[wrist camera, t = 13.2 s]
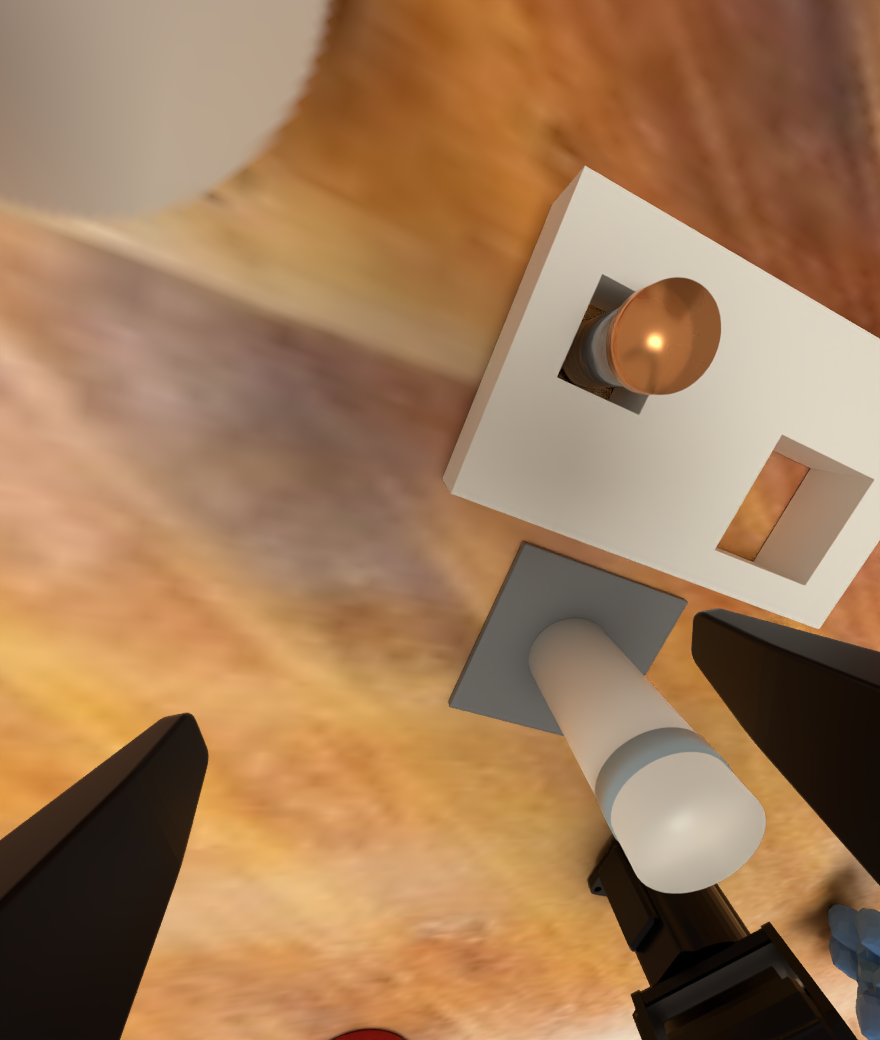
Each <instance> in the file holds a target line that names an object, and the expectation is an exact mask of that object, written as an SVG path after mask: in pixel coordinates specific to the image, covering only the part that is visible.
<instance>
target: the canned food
mask: <svg viewBox="0 0 880 1040" xmlns="http://www.w3.org/2000/svg"><path fill="white" fill-rule="evenodd" d="M335 1040H403V1039H402V1038H400V1037H399V1036H397V1035H395V1034H393V1033H390V1032H387V1031H381V1030H362V1031H356V1032H352V1033H348V1034H345V1035H343V1036H340V1037H338V1038H336V1039H335Z"/></svg>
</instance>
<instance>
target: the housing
mask: <svg viewBox="0 0 880 1040" xmlns="http://www.w3.org/2000/svg"><path fill="white" fill-rule="evenodd" d="M674 277H681V278H688V279H691V280H694V281H696V282H698V283H699V284H701V285H702V286H704V287H705V288H706V289H707V290H708V291H709V292H710V294H711V295H712V296H713V298H714V300H715V301H716V304H717V306H718V309H719V313H720V318H721V337H720V342H719V346H718V349H717V352H716V355H715V357H714V359H713V361H712V363H711V364H710V366H709V368H708V369H707V370H706V372H705V373H704V374H703V375H702V376H701V377H700V378H699V379H698V380H697V381H696V382H695V383H694V384H692V385H691V386H689V387H688V388H686V389H684V390H682V391H679V392H676V393H673V394H667V395H642V394H637V393H634V392H632V391H629V390H628V389H626V388H625V387H615V388H614V390H613V392H612V394H611V396H610V398H609V400H608V401H607V400H605V399H603V398H601V397H599V396H596V395H594V394H592V393H590V392H588V391H585V390H583V389H581V388H579V387H577V386H575V385H572V384H570V383H568V382H566V381H564V380H561V379H559V378H557V376H558V373H559V371H560V369H561V367H562V364H563V362H564V360H565V357H566V355H567V353H568V351H569V348H570V346H571V344H572V342H573V339H574V337H575V335H576V333H577V330H578V328H579V326H580V323H581V321H582V319H583V317H584V314H585V312H586V310H587V308H588V305H589V304H591V305H592V306H594V307H596V308H598V309H600V310H602V311H604V312H606V313H607V312H609V311H612V310H614V309H617V308H619V307H620V306H621V305H622V303H623V302H624V301H625V300H626V299H627V298H628V297H629V296H631V295H632V294H633V293H635V292H636V291H638V290H640V289H642V288H644V287H646V286H649V285H651V284H653V283H656V282H658V281H661V280H664V279H668V278H674ZM772 451H775V452H777V453H779V454H781V455H783V456H785V457H788V458H790V459H792V460H794V461H796V462H798V463H800V464H802V465H804V466H807V467H809V468H810V470H809V472H808V473H807V475H806V477H805V478H804V480H803V481H802V483H801V485H800V486H799V488H798V490H797V491H796V493H795V495H794V496H793V498H792V499H791V501H790V503H789V504H788V506H787V508H786V509H785V511H784V513H783V514H782V516H781V517H780V519H779V521H778V522H777V524H776V526H775V527H774V529H773V531H772V532H771V534H770V535H769V537H768V539H767V540H766V542H765V544H764V545H763V547H762V549H761V550H760V552H759V553H758V555H757V557H756V558H755V560H754V562H752V561H750V560H747V559H745V558H742V557H740V556H737V555H735V554H732V553H729V552H727V551H724V550H722V549H719V548H717V545H718V543H719V542H720V540H721V538H722V537H723V535H724V533H725V531H726V530H727V528H728V526H729V525H730V523H731V521H732V519H733V518H734V516H735V514H736V513H737V511H738V509H739V507H740V506H741V504H742V502H743V501H744V499H745V497H746V495H747V494H748V492H749V490H750V489H751V487H752V485H753V483H754V482H755V480H756V478H757V477H758V475H759V473H760V471H761V470H762V468H763V466H764V465H765V463H766V461H767V459H768V458H769V456H770V454H771V453H772ZM442 480H443V482H444V483H445V485H446V487H447V488H448V490H449V491H450V493H451V494H453V495H456V496H459V497H461V498H464V499H467V500H469V501H472V502H475V503H478V504H480V505H483V506H486V507H488V508H491V509H494V510H497V511H499V512H502V513H505V514H507V515H510V516H513V517H516V518H518V519H521V520H524V521H526V522H529V523H532V524H535V525H537V526H540V527H543V528H545V529H548V530H551V531H553V532H556V533H559V534H562V535H564V536H567V537H570V538H572V539H575V540H578V541H581V542H583V543H586V544H589V545H591V546H594V547H597V548H600V549H602V550H605V551H608V552H610V553H613V554H616V555H619V556H621V557H624V558H627V559H629V560H632V561H635V562H637V563H640V564H643V565H646V566H648V567H651V568H654V569H656V570H659V571H662V572H665V573H667V574H670V575H673V576H675V577H678V578H681V579H684V580H686V581H689V582H692V583H694V584H697V585H700V586H703V587H705V588H708V589H711V590H713V591H716V592H719V593H721V594H724V595H727V596H730V597H732V598H735V599H738V600H740V601H743V602H746V603H749V604H751V605H754V606H757V607H759V608H762V609H765V610H768V611H770V612H773V613H776V614H778V615H781V616H784V617H787V618H789V619H792V620H795V621H797V622H800V623H803V624H805V625H808V626H811V627H814V628H816V629H819V628H820V627H821V625H822V624H823V622H824V621H825V620H826V618H827V617H828V615H829V614H830V612H831V611H832V609H833V608H834V606H835V605H836V603H837V602H838V600H839V599H840V597H841V596H842V595H843V593H844V592H845V590H846V589H847V587H848V586H849V584H850V583H851V581H852V580H853V578H854V577H855V575H856V574H857V572H858V571H859V570H860V568H861V567H862V565H863V564H864V562H865V561H866V559H867V558H868V556H869V555H870V553H871V552H872V550H873V549H874V548H875V546H876V545H877V543H878V542H879V540H880V339H879V338H877V337H876V336H874V335H872V334H870V333H869V332H867V331H865V330H864V329H862V328H860V327H859V326H857V325H855V324H853V323H852V322H850V321H848V320H847V319H845V318H843V317H842V316H840V315H838V314H836V313H835V312H833V311H831V310H830V309H828V308H826V307H825V306H823V305H821V304H819V303H818V302H816V301H814V300H813V299H811V298H809V297H808V296H806V295H804V294H802V293H801V292H799V291H797V290H796V289H794V288H792V287H791V286H789V285H787V284H785V283H784V282H782V281H780V280H779V279H777V278H775V277H774V276H772V275H770V274H768V273H767V272H765V271H763V270H762V269H760V268H758V267H757V266H755V265H753V264H751V263H750V262H748V261H746V260H745V259H743V258H741V257H740V256H738V255H736V254H734V253H733V252H731V251H729V250H728V249H726V248H724V247H723V246H721V245H719V244H717V243H716V242H714V241H712V240H711V239H709V238H707V237H706V236H704V235H702V234H700V233H699V232H697V231H695V230H694V229H692V228H690V227H689V226H687V225H685V224H683V223H682V222H680V221H678V220H677V219H675V218H673V217H672V216H670V215H668V214H666V213H665V212H663V211H661V210H660V209H658V208H656V207H655V206H653V205H651V204H649V203H648V202H646V201H644V200H643V199H641V198H639V197H638V196H636V195H634V194H632V193H631V192H629V191H627V190H626V189H624V188H622V187H620V186H619V185H617V184H615V183H614V182H612V181H610V180H609V179H607V178H605V177H603V176H602V175H600V174H598V173H597V172H595V171H593V170H592V169H590V168H588V167H586V166H584V167H583V168H582V170H581V171H580V172H579V173H578V174H577V176H576V177H575V178H574V179H573V180H572V181H571V183H570V184H569V185H568V186H567V187H566V189H565V190H564V191H563V192H562V193H561V194H560V196H559V197H558V198H557V199H556V200H555V202H554V203H553V204H552V206H551V208H550V211H549V213H548V216H547V218H546V221H545V223H544V226H543V228H542V231H541V233H540V236H539V238H538V241H537V243H536V246H535V248H534V251H533V253H532V256H531V258H530V261H529V263H528V266H527V268H526V271H525V273H524V276H523V278H522V281H521V283H520V286H519V288H518V291H517V293H516V296H515V298H514V301H513V303H512V306H511V308H510V311H509V313H508V316H507V318H506V321H505V323H504V326H503V328H502V331H501V333H500V336H499V338H498V341H497V343H496V346H495V348H494V351H493V353H492V356H491V358H490V361H489V363H488V366H487V368H486V371H485V373H484V376H483V378H482V381H481V383H480V386H479V388H478V391H477V393H476V396H475V398H474V401H473V403H472V406H471V408H470V411H469V413H468V416H467V418H466V421H465V423H464V426H463V428H462V431H461V433H460V436H459V438H458V441H457V443H456V446H455V448H454V451H453V453H452V456H451V458H450V461H449V463H448V466H447V468H446V471H445V473H444V476H443V478H442Z"/></svg>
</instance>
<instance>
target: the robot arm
mask: <svg viewBox="0 0 880 1040" xmlns="http://www.w3.org/2000/svg"><path fill="white" fill-rule="evenodd" d="M691 650H692V656H693V659H694V661H695V663H696V664H697V666H698V667H699V669H700V670H701V671H702V673H703V674H704V675H705V677H706V678H707V679H708V681H709V682H710V684H711V685H712V686H713V688H714V689H715V690H716V692H717V693H718V694H719V696H720V697H721V699H722V700H723V701H724V703H725V704H726V705H727V707H728V708H729V709H730V711H731V712H732V713H733V715H734V716H735V718H736V719H737V720H738V722H739V723H740V724H741V726H742V727H743V728H744V730H745V731H746V732H747V733H748V735H749V736H750V737H751V739H752V740H753V741H754V742H755V744H756V745H757V746H758V747H759V748H760V749H761V751H762V752H763V753H764V754H765V755H766V756H767V758H768V759H769V760H770V761H771V762H772V763H773V764H774V766H775V767H776V768H777V769H778V770H779V771H780V772H781V774H782V775H783V776H784V777H785V778H786V779H787V780H788V782H789V783H790V784H791V785H792V786H793V787H794V788H795V790H796V791H797V792H798V793H799V794H800V795H801V796H802V798H803V799H804V800H805V801H806V802H807V803H808V804H809V806H810V807H811V808H812V809H813V810H814V811H815V812H816V814H817V815H818V816H819V817H820V818H821V819H822V820H823V822H824V823H825V824H826V825H827V826H828V827H829V828H830V830H831V831H832V832H833V833H834V834H835V835H836V836H837V838H838V839H839V840H840V841H841V842H842V843H843V844H844V846H845V847H846V848H847V849H848V850H849V851H850V852H851V854H852V855H853V856H854V857H855V858H856V859H857V860H858V862H859V863H860V864H861V865H862V866H863V867H864V868H865V870H866V871H867V872H868V873H869V874H870V875H871V876H872V877H873V879H874V880H875V881H876V882H877V883H878V884H879V885H880V652H879V651H875V650H871V649H867V648H864V647H860V646H856V645H853V644H849V643H845V642H842V641H838V640H834V639H831V638H827V637H823V636H820V635H816V634H812V633H809V632H805V631H801V630H797V629H794V628H790V627H786V626H783V625H779V624H775V623H772V622H768V621H764V620H761V619H757V618H753V617H750V616H746V615H742V614H739V613H735V612H731V611H727V610H724V609H711V610H706V611H701V612H698V613H697V614H696V615H695V616H694V619H693V632H692V648H691ZM207 765H208V749H207V746H206V744H205V741H204V739H203V736H202V734H201V732H200V729H199V727H198V724H197V722H196V719H195V718H194V716H193V715H192V714H190V713H182V714H177V715H172V716H167V717H164V718H162V719H160V720H159V721H157V722H156V723H155V724H154V725H152V726H151V727H150V728H148V729H147V730H146V731H144V732H143V733H142V734H140V735H139V736H138V737H136V738H135V739H134V740H132V741H131V742H130V743H128V744H127V745H126V746H124V747H123V748H122V749H120V750H119V751H118V752H116V753H115V754H114V755H112V756H111V757H110V758H108V759H107V760H106V761H104V762H103V763H102V764H100V765H99V766H98V767H97V768H95V769H94V770H93V771H91V772H90V773H89V774H87V775H86V776H85V777H83V778H82V779H81V780H79V781H78V782H77V783H75V784H74V785H73V786H71V787H70V788H69V789H67V790H66V791H65V792H63V793H62V794H61V795H59V796H58V797H57V798H55V799H54V800H53V801H51V802H50V803H49V804H47V805H46V806H45V807H43V808H42V809H41V810H40V811H38V812H37V813H36V814H34V815H33V816H32V817H30V818H29V819H28V820H26V821H25V822H24V823H22V824H21V825H20V826H18V827H17V828H16V829H14V830H13V831H12V832H10V833H9V834H8V835H6V836H5V837H4V838H2V839H1V840H0V1040H120V1038H121V1035H122V1032H123V1030H124V1027H125V1024H126V1021H127V1018H128V1015H129V1013H130V1010H131V1007H132V1004H133V1001H134V999H135V996H136V993H137V990H138V987H139V985H140V982H141V979H142V976H143V973H144V970H145V968H146V965H147V962H148V959H149V956H150V954H151V951H152V948H153V945H154V942H155V939H156V937H157V934H158V931H159V928H160V925H161V923H162V920H163V917H164V914H165V911H166V909H167V906H168V903H169V900H170V897H171V894H172V892H173V889H174V886H175V883H176V880H177V877H178V874H179V871H180V868H181V865H182V861H183V858H184V854H185V851H186V847H187V843H188V839H189V835H190V832H191V828H192V824H193V820H194V816H195V812H196V808H197V804H198V801H199V797H200V793H201V789H202V785H203V781H204V777H205V773H206V770H207ZM588 886H589V888H590V891H591V893H592V894H595V895H601V896H607V897H608V900H609V902H610V904H611V907H612V909H613V911H614V913H615V916H616V918H617V920H618V923H619V925H620V927H621V930H622V932H623V934H624V937H625V939H626V941H627V944H628V946H629V948H630V949H631V951H633V952H635V953H636V955H637V957H638V960H639V962H640V964H641V966H642V969H643V971H644V973H645V975H646V978H647V980H648V982H649V985H650V987H649V988H647V989H645V990H643V991H640V990H637V991H636V992H634V993H632V994H631V997H632V1000H633V1003H634V1006H635V1011H634V1013H633V1015H632V1016H633V1018H634V1021H635V1023H636V1026H637V1029H638V1031H639V1034H640V1036H641V1039H642V1040H858V1039H857V1038H856V1037H855V1035H854V1034H853V1032H852V1031H851V1030H850V1028H849V1027H848V1026H847V1024H846V1023H845V1021H844V1020H843V1019H842V1017H841V1016H840V1015H839V1013H838V1012H837V1011H836V1009H835V1008H834V1007H833V1005H832V1004H831V1003H830V1001H829V1000H828V999H827V997H826V996H825V995H824V993H823V992H822V991H821V989H820V988H819V987H818V985H817V984H816V983H815V981H814V980H813V979H812V977H811V976H810V975H809V973H808V972H807V971H806V969H805V968H804V967H803V965H802V964H801V963H800V962H799V960H798V959H797V958H796V956H795V955H794V954H793V952H792V951H791V950H790V948H789V947H788V946H787V944H786V943H785V942H784V940H783V939H782V938H781V936H780V935H779V934H778V932H777V931H776V930H775V928H774V927H773V926H772V924H771V923H770V922H767V923H765V924H764V925H762V926H761V929H759V930H758V931H756V932H754V933H752V934H750V932H749V931H748V929H747V928H746V926H745V925H744V923H743V922H742V920H741V919H740V917H739V916H738V914H737V913H736V911H735V910H734V908H733V907H732V905H731V904H730V902H729V901H728V899H727V898H726V896H725V895H724V893H723V892H722V890H721V889H720V887H719V886H718V884H717V883H716V884H714V885H712V886H709V887H707V888H704V889H701V890H698V891H693V892H688V893H664V892H660V891H656V890H654V889H651V888H650V887H648V886H646V885H645V884H644V883H642V882H641V881H640V879H639V878H638V877H637V875H636V873H635V872H634V870H633V868H632V866H631V864H630V862H629V860H628V858H627V856H626V854H625V852H624V850H623V849H622V847H621V845H620V843H619V842H618V841H617V840H615V841H614V843H613V844H612V846H611V848H610V849H609V851H608V852H607V854H606V855H605V857H604V859H603V860H602V862H601V863H600V865H599V866H598V868H597V870H596V871H595V873H594V874H593V876H592V877H591V879H590V881H589V882H588Z"/></svg>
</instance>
